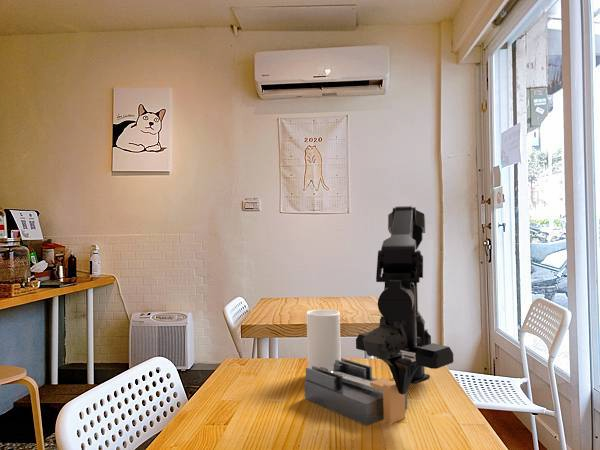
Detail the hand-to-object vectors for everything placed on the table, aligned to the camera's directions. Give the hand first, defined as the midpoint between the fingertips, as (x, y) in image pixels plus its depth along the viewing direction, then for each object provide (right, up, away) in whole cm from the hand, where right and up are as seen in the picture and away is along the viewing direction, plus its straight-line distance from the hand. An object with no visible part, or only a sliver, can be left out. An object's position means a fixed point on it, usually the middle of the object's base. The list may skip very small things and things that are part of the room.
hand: (402, 393), depth 85 cm
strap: (-8, -1, +10) cm, 13 cm away
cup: (-13, -6, +27) cm, 31 cm away
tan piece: (-2, -5, +3) cm, 7 cm away
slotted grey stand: (-8, -6, +10) cm, 14 cm away
